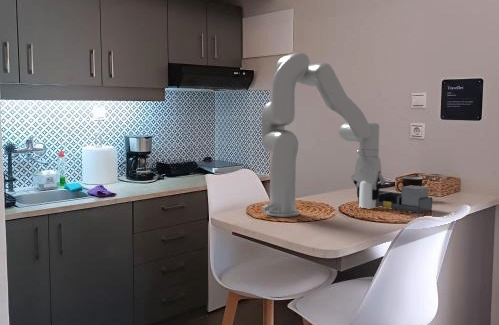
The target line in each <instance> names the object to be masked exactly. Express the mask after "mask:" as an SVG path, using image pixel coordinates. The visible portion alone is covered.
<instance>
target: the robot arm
mask: <svg viewBox="0 0 499 325" xmlns="http://www.w3.org/2000/svg"><path fill="white" fill-rule="evenodd" d="M297 83H299V84H301V85H304V86H305V85H306V86H309V87H316V89H317V91H318V93H319V94H320V97H321V98H322V99H323V102H324V104H325V105H326V107H327V108H329V109H330V110H331V111H333V112H334V113H336V114H338V115H339V116H341V117H342V118H343V120H345V121H346V122H344V123H343V124H341V125H340V127H339V129H338V130H339V131H338V134H339V137H340V138H341V139H342V140H344V141H347V142H355V143H359V145H358V146H359V149H357V151H356V153H357V154H358V156H357V157H356V161H355V166H354V174H353V175H351V177H350V179H351V180H352V182H353V183H354V186H355V188H357V189H356V194H357V199H358V198H359V190H360V182H361V181H365V182H368V183H372V185H373V188H374V190H373V191H372V199H373V200H376V199H378V197H379V190H381V188H382V187H383V186H384V185H385V184H386V182H387V180H386V179H385V177H384V176H383V175H382V164H381V157H379V156H380V155H379V151H380V124H379V123H378V122H377V123H376V122H369V121H368V120H367V118H366V115H365V113H363V111H362V109H361V108H360V107H359V106H358V105H357V104H356V102H354V101H353V100H352V99H351V98H350V97H349V96H348V95H347V93H346V91H345V90H344V88H343V86H342V84H341V82H340V80H339V78H338V76H337V74H336V73H335V70H334V69H333V67H332V65H331V64H329V63H327V62H317V63H310V58H309V56H308V55H307V54H306V53H303V52H293V53H291V54H287V55H286V54H285V55H284V56H282V57H280V59H278V61H277V63H276V72H275V73H274V75H273V78H272V83H271V100H270V101H269V102H267V103H266V104H265V105H264V106H263V108H262V111H261V119H260V120H261V142H262V146H263V148H264V150H265V151H267V152H268V153H270V154H271V159H270V165H269V166H270V170H269V171H270V172H269V174H270V176H269V180H270V182H269V184H270V185H269V202H267V205H263V206H261V208H260V209H261V212H265V214H266V215H268V216H272V217H276V218H277V217H278V218H279V217H280V218H288V217H290V218H291V217H296V216H298V215H300V210H299V209H296V192H297V191H296V188H297V187H296V180H297V178H296V176H297V156H298V151H299V139H298V137H297V135H296V134H295V133H294V132H293V131H291V130H287V129H285V126H286V127H287V126H289V125H291V124H292V123H293V122H294V120H295V118H296V117H295V116H296V109H295V108H296V107H295V106H296V105H295V100H296V99H295V97H296V96H295V94H296V92H295V91H296V86H297Z"/></svg>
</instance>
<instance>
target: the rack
mask: <svg viewBox="0 0 499 325" xmlns="http://www.w3.org/2000/svg"><path fill="white" fill-rule="evenodd" d="M401 191H402V193H401V192H400V193H399V192H394V191H393V192H392V191H386V190H381V189H379V197H378V199H376V206H382V207H386V208H392V209H391V210H393V209H397V210H396V211H399V210H404V211H403V212H406V211H411V212H410V213H412V212H416V213H415V214H418V213H421V214H423V213H422V212H425V213H428V212H432V210H433V197H432V196H429V187H427V186H422V187H421V186H413V185H410V186H405V187H403V186H401ZM358 203H359V198H358V197H357V204H358ZM386 208H385V209H386ZM427 211H428V212H427Z"/></svg>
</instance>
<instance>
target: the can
mask: <svg viewBox="0 0 499 325" xmlns="http://www.w3.org/2000/svg"><path fill="white" fill-rule="evenodd" d="M373 190H374V188H373V185H372V183H368V182H365V181H361V182H360V190H359V204H358V207H359V208H360V207H361V208H375V209H376V208H377V207H376V200H373V199H372V191H373ZM361 208H360V209H361Z"/></svg>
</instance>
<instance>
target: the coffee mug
mask: <svg viewBox="0 0 499 325" xmlns="http://www.w3.org/2000/svg"><path fill="white" fill-rule="evenodd" d="M423 179H424V178H423V177H419V176H403V177H401V181H398V182H397V183H396V188H397V190H398V191H399V192H400V193H402V189H401V190H400V187H399V184H400V183H401V184H402V187H405V186H410V185H413V186H421V187H423V186H422V185H423V181H424V180H423Z"/></svg>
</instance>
